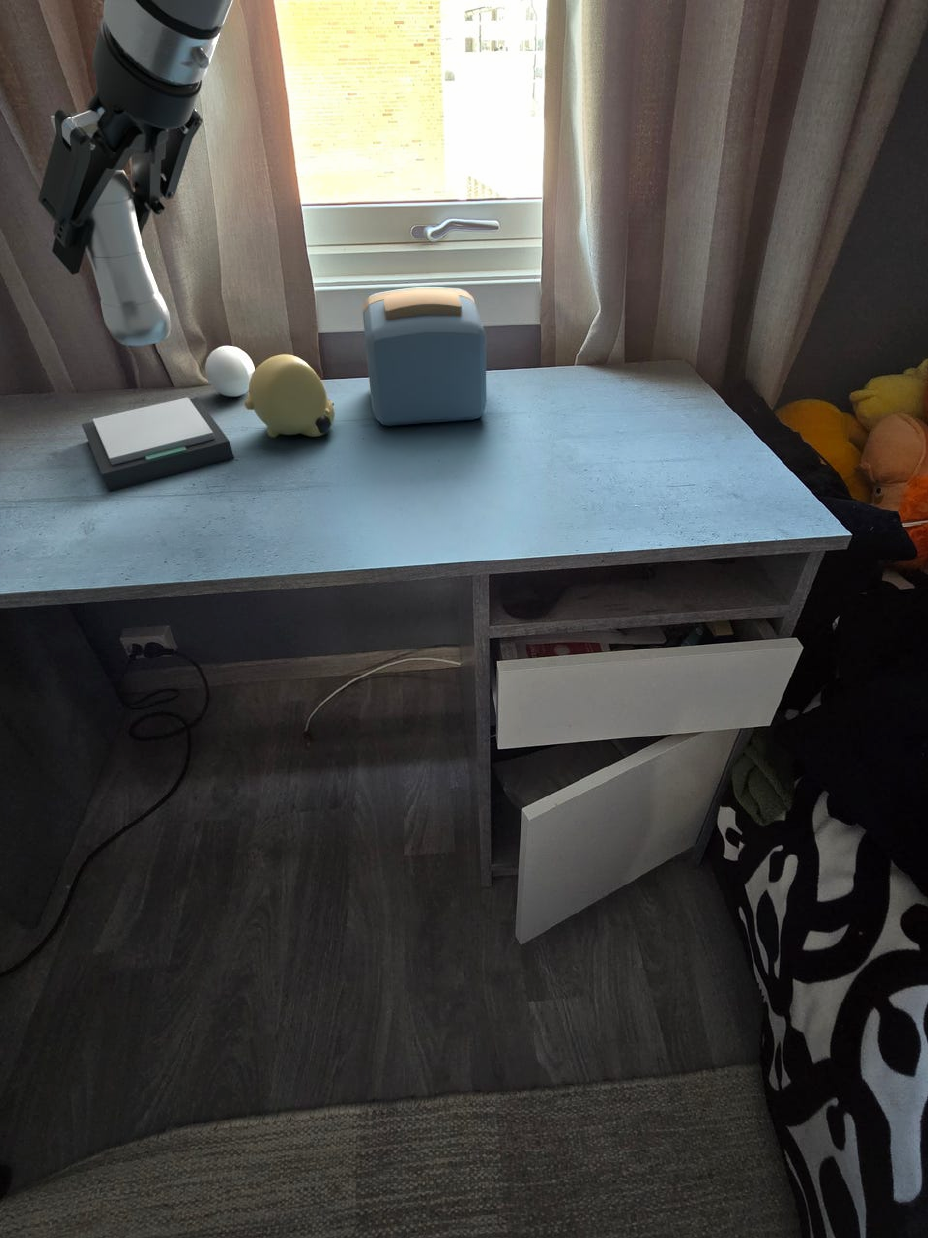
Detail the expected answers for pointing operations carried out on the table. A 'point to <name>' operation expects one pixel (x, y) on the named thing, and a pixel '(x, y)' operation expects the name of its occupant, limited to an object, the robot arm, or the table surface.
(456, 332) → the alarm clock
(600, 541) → the table surface
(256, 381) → the yellow round figure
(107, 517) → the table surface
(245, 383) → the white egg
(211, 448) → the scale
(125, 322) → the plastic bottle
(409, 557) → the table surface
